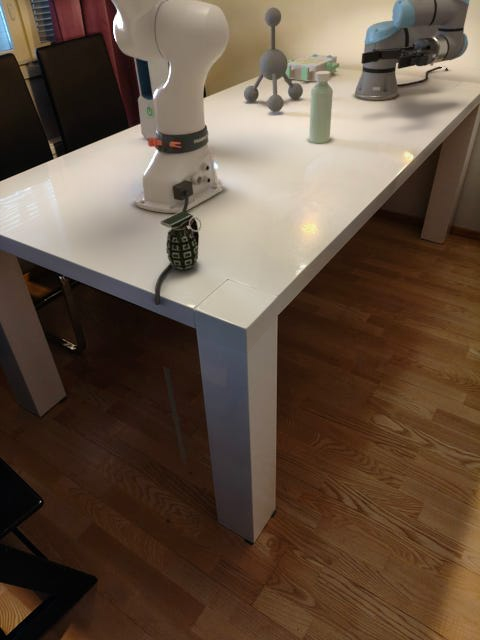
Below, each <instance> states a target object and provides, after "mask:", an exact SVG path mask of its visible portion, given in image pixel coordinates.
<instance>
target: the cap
mask: <svg viewBox="0 0 480 640" xmlns="http://www.w3.org/2000/svg"><path fill="white" fill-rule="evenodd" d="M330 80H331V75H330V72H329V71H318V72H316V73H315V81H314V82H317V81H318V82H325V81H327V82H329V81H330Z"/></svg>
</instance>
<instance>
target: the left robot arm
mask: <svg viewBox="0 0 480 640" xmlns="http://www.w3.org/2000/svg"><path fill="white" fill-rule="evenodd" d="M110 1H111V2H112V4H113V5H114V7H115V9H116V13H115V14H114V15H115V16H114V19H113V25H112V26H113V27H112V28H113V36H114V39H115V42H116V45H117V46H118V49H119V50H120V51H121V53H123V54H124V55H125V56H128V57H131V58H133V59H134V58H137V59H141V60H144V61H161V62H168V66H169V77H168V80H166V81H164V82H163V83H162V84H161V85H159V86H158V88H157V89H156V91H155V93H154V97H153V101H154V108H155V114H156V121H157V128H158V129H157V130H156V138H152V137H150V138H149V139H147V146H149V147H151V148H152V147H154V148H155V151H154V153H153V155H152V157H151V159H150V162H149V163H148V165H147V167H146V169H145V172H144V173H143V176H142V192H140V193H139V195H138V196H137V197H135V199H134V205H135V206H137V207H138V208H140V209H142V210H143V209H144V210H147V211H151V212H157V213H164V214H177V213H179V212H181V211H184V212H187V211H189V210H190V209H193V208H194V207H196V206H198V205H199V204H201V203H203V202H205V201H207V200H208V199H210V198H212V197H214V196H215V195H217V194H219V193H220V192H222V191H223V185H222V184H220V183H219V180H218V174H217V169H218V164H217V163H216V162H215V156H214V155H213V153H212V152H211V149H210V147H209V145H208V143H209V130H208V126H207V124H206V121H205V103H204V94H205V93H204V92H205V85H206V80H207V77H208V75H209V72H210V70H211V68H212V67H213V65H214V64H216V62H217V61H218V60H219V59H220V58H221V57H222V55H223V54H224V52H225V51H226V49H227V47H228V43H229V39H230V36H229V35H230V29H229V24H228V20H227V17H226V15H225V13H224V11H223V10H222V8H221V7H219V6H218V5H216V4H212V3H210V2H205V1H200V0H110ZM173 267H174V266H172V264H171V262H169V264H168V265H167V266H166V267H165V269H163V271H162V272H161V273H160V275H159V276H158V278H157V281H156V283H155V287H154V304H155V306H159V305H160V304H161V296H160V295H161V284H162V282H163V281H164V278H165V277H166V275H167V274H168V273H169V272H170V271H171V270H172V269H173ZM163 370H164V376H165V381H166V386H167V391H168V397H169V401H170V406H171V412H172V417H173V420H174V425H175V431H176V436H177V441H178V446H179V451H180V455H181V456H180V457H181V461H182V463H183V464H185V463H186V464H187V458H186V453H185V448H184V442H183V436H182V432H181V431H182V430H181V427H180V422H179V417H178V412H177V407H176V402H175V397H174V396H175V395H174V392H173V386H172V380H171V376H170V370H169V368H168V367H167V366H165V365H163Z"/></svg>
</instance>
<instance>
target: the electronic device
mask: <svg viewBox="0 0 480 640" xmlns="http://www.w3.org/2000/svg"><path fill="white" fill-rule="evenodd" d="M133 60H134V61H133V62H134V65H135V72H136V79H137V86H138V90H139V97H138V98H137V103H138V113H139V123H140V129H141V130H140V131H141V135H142V136H143V138H144V139H146V140H148V139H149V138H150V137H152V138H156V130H157V129H158V128H157V121H156V114H155V108H154V101H153V97H154V93H155V91H156V89H157V88H158V86H159V85H161V84H162V83H163V82H164V81H166V80H168V77H169V72H170V67H169V62H161V61H144V60H141V59H137V58H134V57H133Z"/></svg>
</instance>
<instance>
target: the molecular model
mask: <svg viewBox="0 0 480 640" xmlns="http://www.w3.org/2000/svg"><path fill="white" fill-rule="evenodd" d="M281 20H282V13H281V11H280V9H278V8H277V7H274V6H273V7H272V6H271V7H269V8H268V9H267V10H266V11H265V13H264V21H265V24H266V25H267V26H268V27H270V49H267V50H266V51H264V53H263V54H262V55H261V57H260V59H259V65H258V66H259V71H260V74H259V75H258V77H257V79H256V81H255V83H254V84H253V85H248V86H247V87H246V88H245V89H244V91H243V97H244V99H245V101H247V102H248V103H254V102H256V101H257V100H258V98H259V94H260V92H259V90H258V87H259V85H260V83H261V82H262V80H263V78H265V79H266V80H268V81H271V82H272V94H271V95H270V96H269V97H268V98H267V108H268V109H269V110H270V111H271V112H273V113H277V112H280V111H281V110H282V109H283V107H284V99H283V97H282V96H281V95H280V94H278V80H279V79H281V78H283V79H284V81H285V82H286V84H287V86H288V89H287V94H288V97H289V98H290V99H292V100H298V99H300V98H301V97H302V96H303V93H304V90H303V89H304V88H303V86H302V85H301V83H298V82H294V83H293V82H292V79H289V77H288V76H287V75H286V73H285V72H286V70H287V63H288V59H287V56H286V55H285V53H284V52H283V51H282V50H280V49H278V48H276V27H278V25H280V23H281V22H282V21H281Z"/></svg>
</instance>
